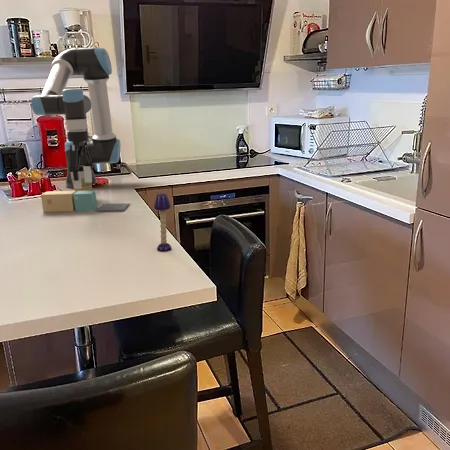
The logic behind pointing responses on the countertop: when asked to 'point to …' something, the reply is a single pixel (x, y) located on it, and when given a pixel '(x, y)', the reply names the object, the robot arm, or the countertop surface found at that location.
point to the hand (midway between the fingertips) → (83, 185)
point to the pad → (112, 207)
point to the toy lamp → (162, 220)
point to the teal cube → (85, 200)
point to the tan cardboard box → (58, 201)
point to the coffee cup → (83, 180)
